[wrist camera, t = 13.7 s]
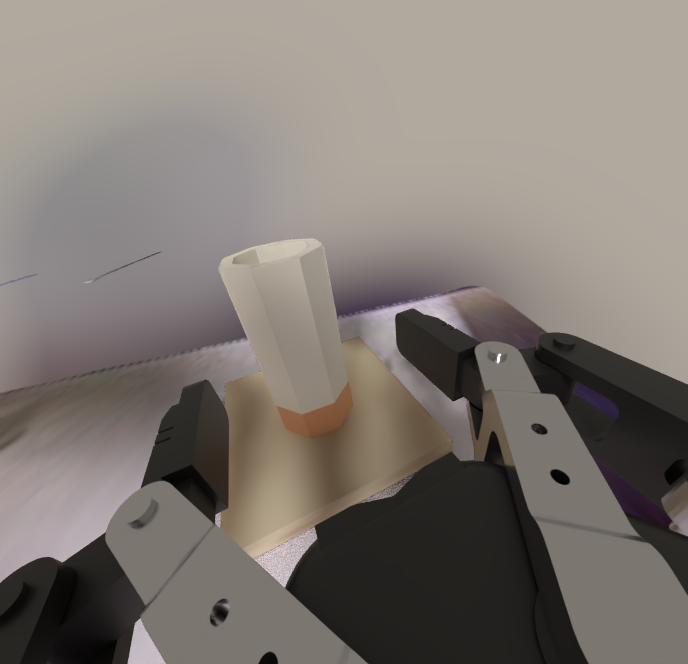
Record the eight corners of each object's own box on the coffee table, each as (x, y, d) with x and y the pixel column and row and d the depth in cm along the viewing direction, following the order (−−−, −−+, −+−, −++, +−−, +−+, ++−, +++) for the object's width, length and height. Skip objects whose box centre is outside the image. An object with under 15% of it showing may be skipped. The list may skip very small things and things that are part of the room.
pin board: (231, 570, 13) (172, 519, 10) (231, 394, 24) (204, 345, 21) (450, 453, 16) (459, 387, 13) (360, 347, 28) (353, 298, 25)
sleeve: (270, 423, 19) (197, 268, 12) (308, 377, 23) (267, 240, 16) (329, 446, 16) (277, 269, 10) (361, 390, 20) (337, 237, 14)
